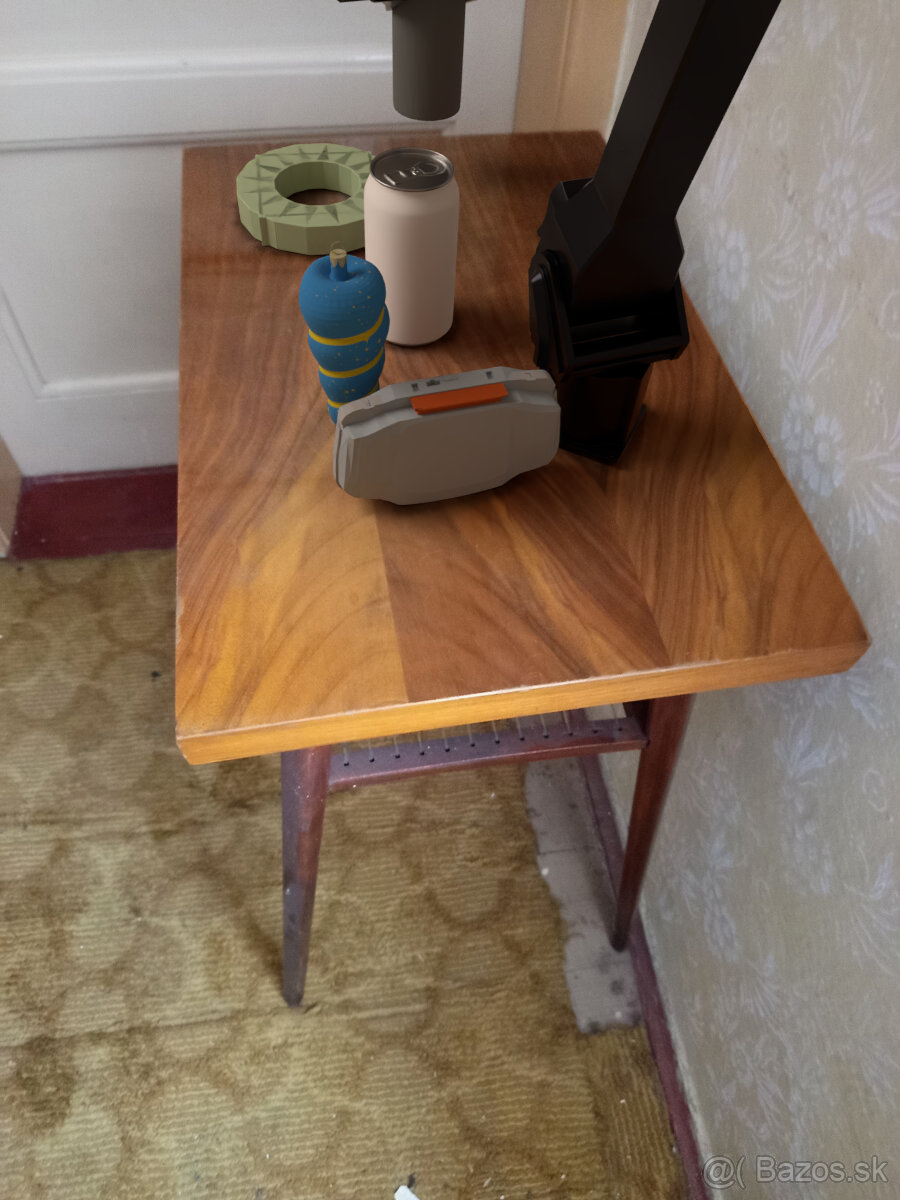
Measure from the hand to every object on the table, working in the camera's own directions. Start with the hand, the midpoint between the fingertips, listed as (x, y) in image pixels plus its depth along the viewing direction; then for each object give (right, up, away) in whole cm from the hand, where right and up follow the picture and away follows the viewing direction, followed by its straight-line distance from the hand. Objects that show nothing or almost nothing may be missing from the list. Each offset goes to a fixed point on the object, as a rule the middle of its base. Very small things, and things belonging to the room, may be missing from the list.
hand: (423, 0), depth 74 cm
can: (-1, -27, -4) cm, 28 cm away
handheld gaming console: (+2, -41, -14) cm, 43 cm away
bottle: (0, -6, +5) cm, 8 cm away
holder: (-9, -15, +5) cm, 18 cm away
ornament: (-4, -38, -12) cm, 40 cm away
